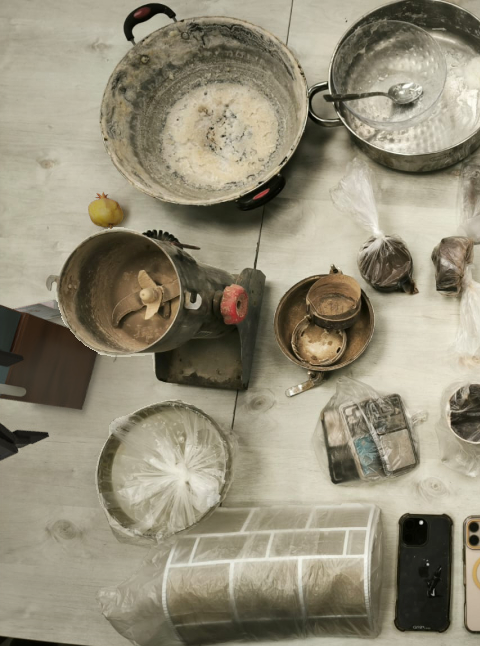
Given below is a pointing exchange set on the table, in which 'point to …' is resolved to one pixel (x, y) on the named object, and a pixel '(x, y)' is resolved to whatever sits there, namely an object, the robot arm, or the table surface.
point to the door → (2, 388)
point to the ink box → (42, 309)
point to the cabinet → (45, 360)
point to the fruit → (105, 212)
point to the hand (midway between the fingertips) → (27, 399)
